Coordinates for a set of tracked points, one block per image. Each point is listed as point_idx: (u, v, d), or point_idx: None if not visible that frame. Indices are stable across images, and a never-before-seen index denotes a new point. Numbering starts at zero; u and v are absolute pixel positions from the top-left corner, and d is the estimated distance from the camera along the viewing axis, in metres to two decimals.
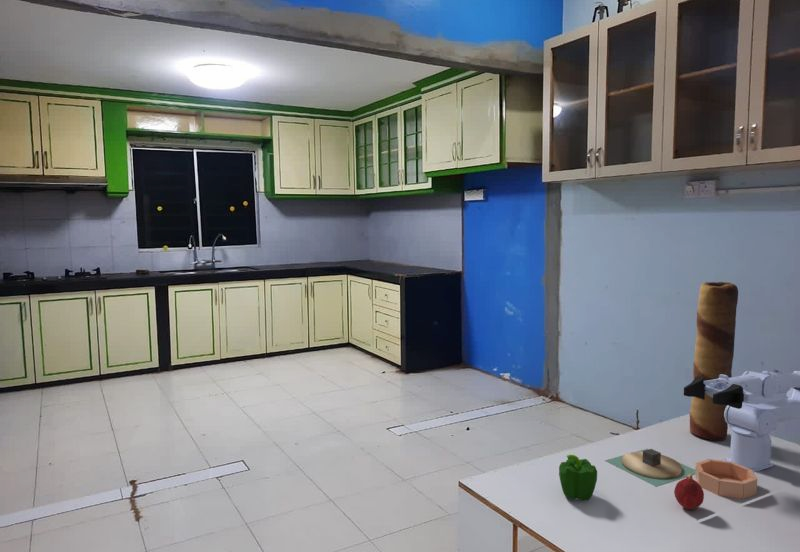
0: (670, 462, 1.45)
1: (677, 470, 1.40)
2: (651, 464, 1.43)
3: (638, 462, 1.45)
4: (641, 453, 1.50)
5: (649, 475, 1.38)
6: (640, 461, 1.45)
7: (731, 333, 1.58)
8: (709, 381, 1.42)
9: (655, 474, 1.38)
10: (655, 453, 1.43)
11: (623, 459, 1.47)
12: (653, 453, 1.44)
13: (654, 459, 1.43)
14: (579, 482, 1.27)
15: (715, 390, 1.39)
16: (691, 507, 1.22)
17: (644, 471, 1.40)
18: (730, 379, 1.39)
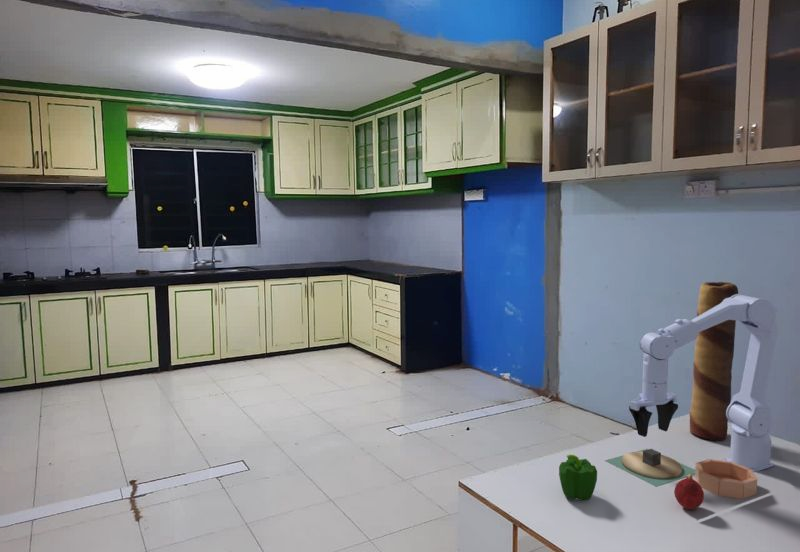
0: (670, 462, 1.45)
1: (677, 470, 1.40)
2: (651, 464, 1.43)
3: (638, 462, 1.45)
4: (641, 453, 1.50)
5: (649, 475, 1.38)
6: (640, 461, 1.45)
7: (731, 333, 1.58)
8: None
9: (655, 474, 1.38)
10: (655, 453, 1.43)
11: (623, 459, 1.47)
12: (653, 453, 1.44)
13: (654, 459, 1.43)
14: (579, 482, 1.27)
15: None
16: (691, 507, 1.22)
17: (644, 471, 1.40)
18: None
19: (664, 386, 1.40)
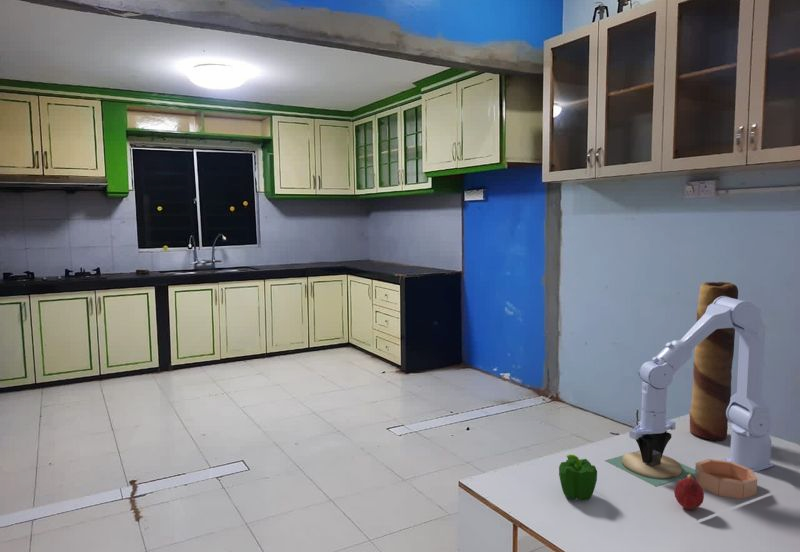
0: (670, 462, 1.45)
1: (677, 470, 1.40)
2: (651, 464, 1.43)
3: (638, 462, 1.45)
4: None
5: (649, 475, 1.38)
6: (640, 461, 1.45)
7: (731, 333, 1.58)
8: None
9: (655, 474, 1.38)
10: (655, 453, 1.43)
11: (623, 459, 1.47)
12: (653, 453, 1.44)
13: (654, 459, 1.43)
14: (579, 482, 1.27)
15: None
16: (691, 507, 1.22)
17: (644, 471, 1.40)
18: None
19: (663, 415, 1.41)
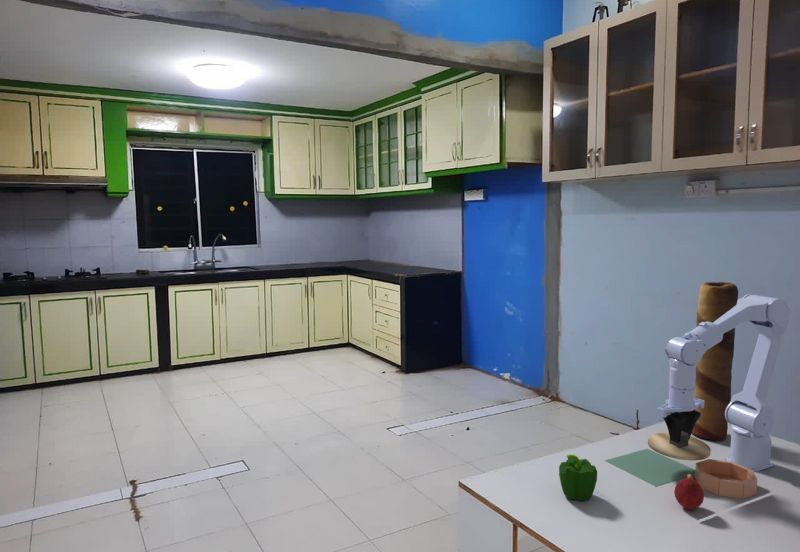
0: (698, 443, 1.40)
1: (706, 452, 1.36)
2: (679, 445, 1.38)
3: (665, 443, 1.41)
4: (667, 434, 1.46)
5: (677, 456, 1.34)
6: (667, 442, 1.41)
7: (731, 333, 1.58)
8: None
9: (683, 455, 1.34)
10: (683, 434, 1.39)
11: (649, 440, 1.43)
12: None
13: (682, 440, 1.38)
14: (579, 482, 1.27)
15: None
16: (691, 507, 1.22)
17: (672, 452, 1.36)
18: None
19: (692, 392, 1.36)
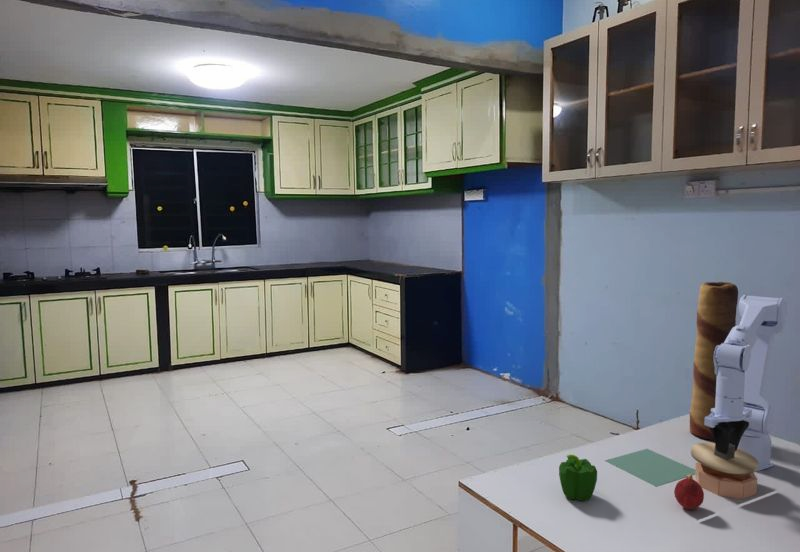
0: (744, 455, 1.34)
1: (754, 465, 1.30)
2: (725, 457, 1.32)
3: (709, 455, 1.35)
4: (710, 444, 1.40)
5: (725, 470, 1.28)
6: (711, 454, 1.35)
7: None
8: None
9: (731, 469, 1.28)
10: (729, 446, 1.33)
11: (692, 451, 1.36)
12: None
13: (728, 452, 1.32)
14: (579, 482, 1.27)
15: None
16: (691, 507, 1.22)
17: (719, 465, 1.30)
18: None
19: (741, 401, 1.30)
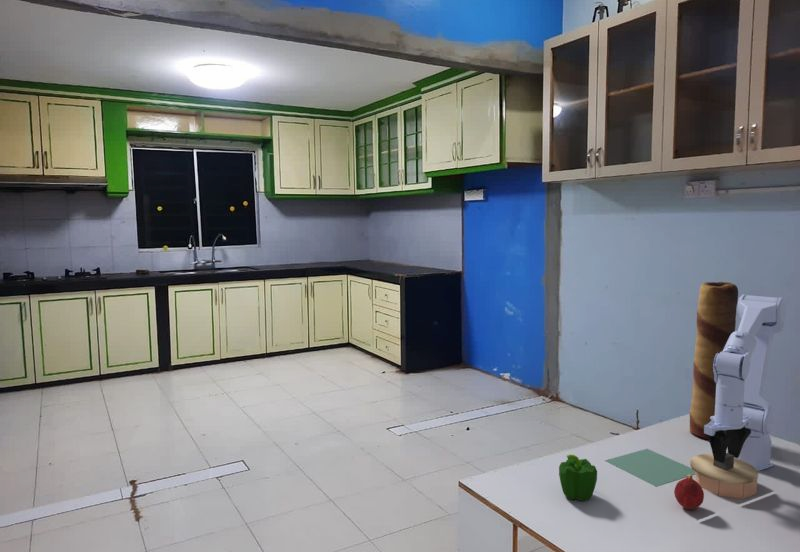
0: (743, 465, 1.35)
1: (753, 474, 1.30)
2: (724, 468, 1.33)
3: (709, 465, 1.35)
4: (709, 456, 1.40)
5: (724, 479, 1.28)
6: (711, 464, 1.35)
7: (731, 333, 1.58)
8: None
9: (731, 478, 1.28)
10: (728, 456, 1.33)
11: (692, 462, 1.37)
12: None
13: (727, 462, 1.33)
14: (579, 482, 1.27)
15: None
16: (691, 507, 1.22)
17: (718, 475, 1.30)
18: None
19: (741, 409, 1.30)
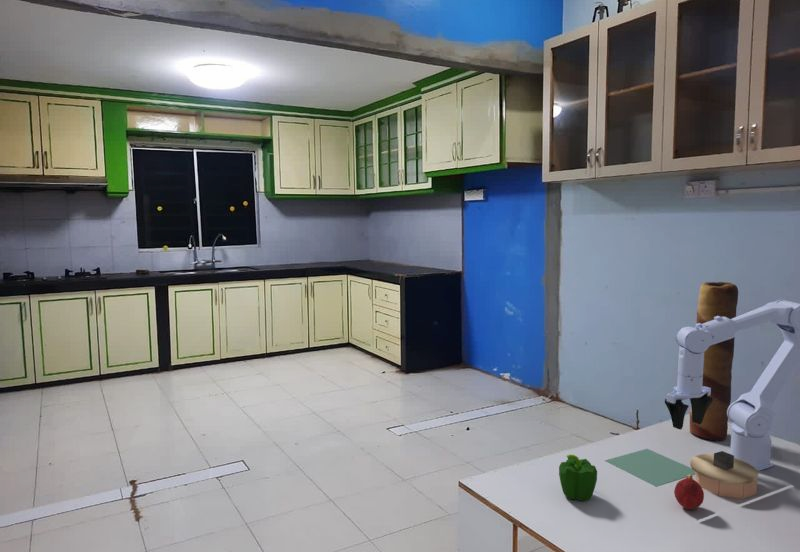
0: (743, 465, 1.35)
1: (753, 474, 1.30)
2: (724, 468, 1.33)
3: (709, 465, 1.35)
4: (709, 456, 1.40)
5: (724, 479, 1.28)
6: (711, 464, 1.35)
7: None
8: None
9: (731, 478, 1.28)
10: (728, 456, 1.33)
11: (692, 462, 1.37)
12: (725, 455, 1.33)
13: (727, 462, 1.33)
14: (579, 482, 1.27)
15: None
16: (691, 507, 1.22)
17: (718, 475, 1.30)
18: None
19: (700, 379, 1.42)
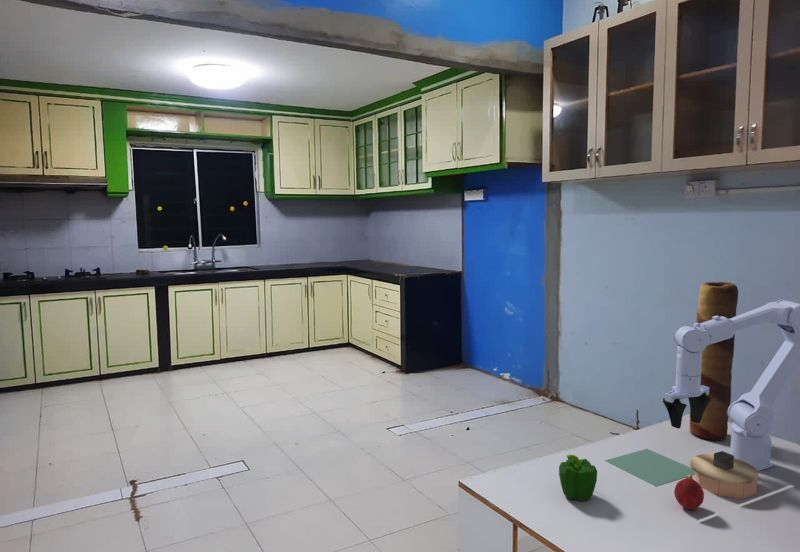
0: (743, 465, 1.35)
1: (753, 474, 1.30)
2: (724, 468, 1.33)
3: (709, 465, 1.35)
4: (709, 456, 1.40)
5: (724, 479, 1.28)
6: (711, 464, 1.35)
7: None
8: None
9: (731, 478, 1.28)
10: (728, 456, 1.33)
11: (692, 462, 1.37)
12: (725, 455, 1.33)
13: (727, 462, 1.33)
14: (579, 482, 1.27)
15: None
16: (691, 507, 1.22)
17: (718, 475, 1.30)
18: None
19: (698, 379, 1.42)
